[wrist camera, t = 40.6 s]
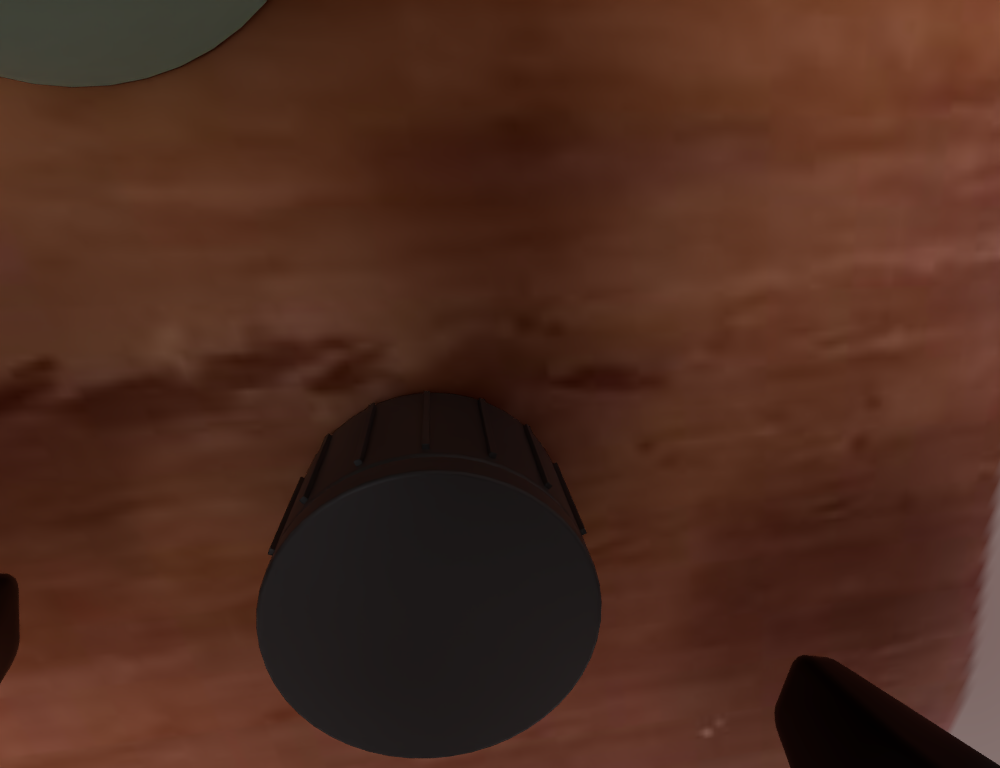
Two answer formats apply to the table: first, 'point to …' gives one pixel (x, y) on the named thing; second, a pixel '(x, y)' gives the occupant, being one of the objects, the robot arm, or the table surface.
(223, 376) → the table surface
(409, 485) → the cap
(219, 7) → the bottle
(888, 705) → the robot arm
